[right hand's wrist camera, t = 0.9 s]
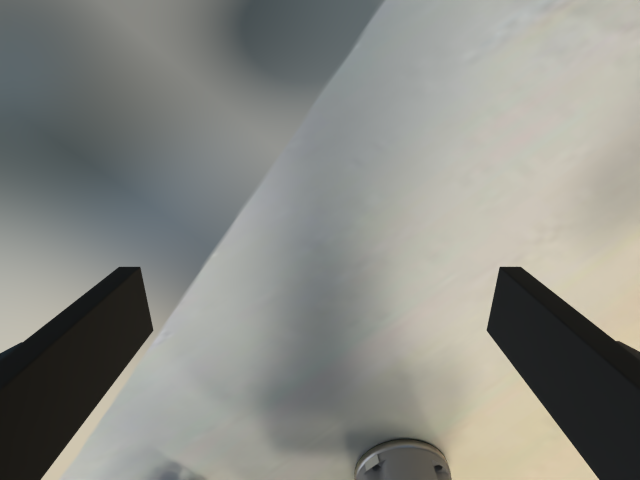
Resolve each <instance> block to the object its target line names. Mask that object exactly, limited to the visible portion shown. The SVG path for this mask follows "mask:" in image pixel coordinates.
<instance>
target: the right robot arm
mask: <svg viewBox="0 0 640 480" xmlns="http://www.w3.org/2000/svg"><path fill="white" fill-rule="evenodd" d="M152 331H153V326H152V322H151V317H150V312H149V307H148V302H147V297H146V293H145V288H144V283H143V278H142V273H141V268H140V267H119V268H117V269H116V270H115V271H113V272H112V273H111V274H110V275H108V276H107V277H106V278H105V279H103V280H102V281H101V282H99V283H98V284H97V285H96V286H94V287H93V288H92V289H90V290H89V291H88V292H87V293H85V294H84V295H83V296H81V297H80V298H79V299H78V300H76V301H75V302H74V303H73V304H71V305H70V306H69V307H67V308H66V309H65V310H64V311H62V312H61V313H60V314H59V315H57V316H56V317H55V318H53V319H52V320H51V321H50V322H48V323H47V324H46V325H44V326H43V327H42V328H41V329H39V330H38V331H37V332H36V333H34V334H33V335H32V336H30V337H29V338H28V339H27V340H25V341H24V342H21V343H19V344H17V345H15V346H14V347H12V348H10V349H8V350H6V351H4V352H2V353H0V480H41V478H42V477H43V476H44V474H45V473H46V472H47V470H48V469H49V468H50V466H51V465H52V464H53V463H54V461H55V460H56V459H57V457H58V456H59V455H60V453H61V452H62V451H63V449H64V448H65V447H66V445H67V444H68V443H69V441H70V440H71V439H72V437H73V436H74V435H75V433H76V432H77V431H78V429H79V428H80V427H81V425H82V424H83V423H84V421H85V420H86V419H87V418H88V416H89V415H90V413H91V412H92V411H93V410H94V408H95V407H96V406H97V404H98V403H99V402H100V400H101V399H102V398H103V396H104V395H105V394H106V392H107V391H108V390H109V388H110V387H111V386H112V384H113V383H114V382H115V380H116V379H117V378H118V376H119V375H120V374H121V372H122V371H123V370H124V368H125V367H126V366H127V365H128V363H129V362H130V361H131V359H132V358H133V357H134V355H135V354H136V353H137V351H138V350H139V349H140V347H141V346H142V345H143V343H144V342H145V341H146V339H147V338H148V337H149V335H150V334H151V333H152ZM487 332H488V333H489V334H490V335H491V337H492V338H493V339H494V341H495V342H496V343H497V345H498V346H499V347H500V349H501V350H502V351H503V353H504V354H505V355H506V357H507V358H508V359H509V361H510V362H511V363H512V365H513V366H514V367H515V369H516V370H517V371H518V373H519V374H520V375H521V377H522V378H523V379H524V380H525V382H526V383H527V384H528V386H529V387H530V388H531V390H532V391H533V392H534V394H535V395H536V396H537V398H538V399H539V400H540V402H541V403H542V404H543V406H544V407H545V408H546V410H547V411H548V412H549V414H550V415H551V416H552V418H553V419H554V420H555V422H556V423H557V424H558V425H559V427H560V428H561V429H562V431H563V432H564V433H565V435H566V436H567V437H568V439H569V440H570V441H571V443H572V444H573V445H574V447H575V448H576V449H577V451H578V452H579V453H580V455H581V456H582V457H583V459H584V460H585V461H586V463H587V464H588V465H589V467H590V468H591V469H592V470H593V472H594V473H595V474H596V476H597V477H598V478H599V480H640V352H639V351H637V350H635V349H633V348H631V347H629V346H627V345H625V344H624V343H622V342H620V341H615V340H613V339H612V338H611V337H610V336H608V335H607V334H606V333H605V332H603V331H602V330H601V329H599V328H598V327H597V326H596V325H594V324H593V323H592V322H590V321H589V320H588V319H587V318H585V317H584V316H583V315H582V314H580V313H579V312H578V311H576V310H575V309H574V308H573V307H571V306H570V305H569V304H567V303H566V302H565V301H564V300H562V299H561V298H560V297H559V296H557V295H556V294H555V293H553V292H552V291H551V290H550V289H548V288H547V287H546V286H544V285H543V284H542V283H541V282H539V281H538V280H537V279H536V278H534V277H533V276H532V275H530V274H529V273H528V272H527V271H525V270H524V269H523V268H521V267H500V268H499V273H498V278H497V283H496V288H495V293H494V297H493V302H492V307H491V312H490V317H489V322H488V326H487ZM355 480H452V479H451V473H450V470H449V467H448V464H447V461H446V459H445V457H444V456H443V454H442V453H441V452H440V451H439V450H438V449H436V448H435V447H433V446H432V445H429V444H427V443H424V442H421V441H416V440H394V441H389V442H385V443H382V444H380V445H378V446H376V447H374V448H372V449H370V450H369V451H368V452H366V453H365V454H364V455H363V456H362V457H361V459H360V460H359V462H358V463H357V466H356V469H355Z"/></svg>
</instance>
